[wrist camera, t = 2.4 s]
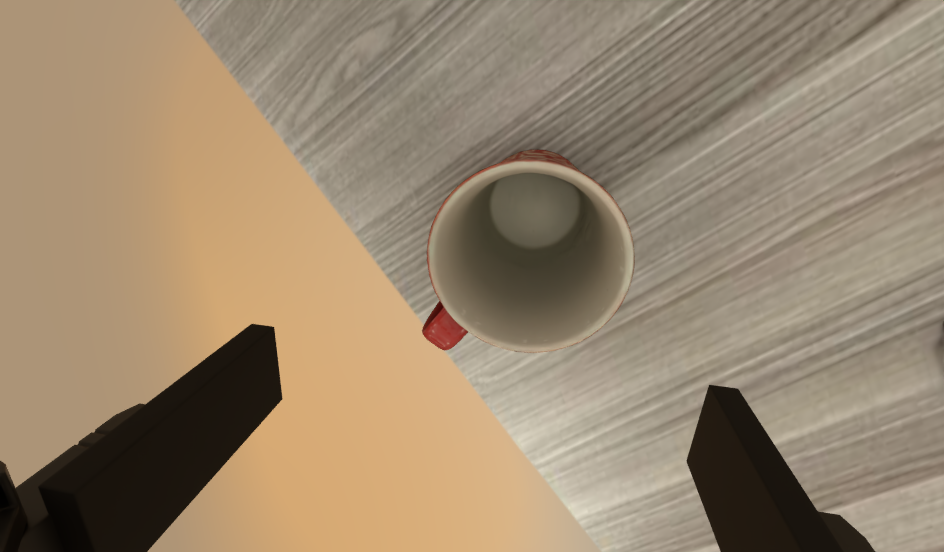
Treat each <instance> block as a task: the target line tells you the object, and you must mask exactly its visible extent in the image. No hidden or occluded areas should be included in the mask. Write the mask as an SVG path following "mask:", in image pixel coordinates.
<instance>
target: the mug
mask: <svg viewBox="0 0 944 552" xmlns="http://www.w3.org/2000/svg"><path fill="white" fill-rule="evenodd" d="M634 258H635V256H634V245H633V239H632V235H631V231H630V228H629V226H628V223H627V220H626V218H625V216H624V214H623V213H622V211H621V209H620V208H619V206H618V204H617V203H616V202H615V200H614V199H613V197H612V196H611V195H610V194H609V193H608V192H607V191H606V190H605V189H604V188H603V187H602V186H601V185H599V184H598V183H597V182H596V181H594V180H593V179H592V178H590V177H589V176H587V175H585V174H584V173H582V172H580V171H579V170H578V169H577V168H576V167H575V166H574V165H573V164H572V163H570V162H569V161H568V160H567V159H565V158H564V157H562V156H560V155H558V154H556V153H553V152H550V151H546V150H527V151H522V152H519V153H517V154H514V155H512V156H510V157H508V158H507V159H505V160H504V161H502V162H501V163H499V164H496V165H493V166H490V167H488V168H485V169H483V170H481V171H479V172H477V173H475V174H474V175H472V176H471V177H469V178H468V179H466V180H465V181H464V182H463V183H461V184H460V185H459V186H458V187H457V188H456V189H455V190H454V191H453V192H452V193H451V194H450V195H449V196H448V198H447V199H446V200H445V201H444V203H443V204H442V206H441V208H440V209H439V211H438V213H437V215H436V217H435V219H434V221H433V224H432V226H431V230H430V234H429V239H428V247H427V263H428V270H429V276H430V279H431V282H432V285H433V288H434V290H435V293H436V295H437V297H438V298H439V300H440V301H439V302H438V304H437V305H436V307H435V308H434V310H433V311H432V313H431V314H430V316H429V317H428V319H427V321H426V323H425V324H424V326H423V330H422V332H423V335H424V336H425V337H426V339H427V340H429V341H430V342H431V343H433V344H434V345H435V346H437V347H438V348H440V349H442V350H449V349H451V348H452V347H454V346H455V345H456V344H457V343H458V342H459V341H460V340H461V339H462V338H463V337H464V335H466V334H467V333H468V332H469V333H471V334H472V335H474V336H476V337H477V338H479V339H481V340H483V341H485V342H487V343H489V344H491V345H494V346H497V347H500V348H503V349H507V350H512V351H516V352H527V353H537V352H548V351H554V350H558V349H562V348H565V347H568V346H571V345H574V344H576V343H578V342H580V341H582V340H584V339H586V338H588V337H590V336H591V335H593V334H594V333H595V332H597V331H598V330H599V329H600V328H601V327H603V326H604V325H605V324H606V323H607V322H608V321H609V320H610V319H611V318H612V316H613V315H614V314H615V313H616V311H617V310H618V309H619V307H620V305H621V304H622V302H623V300H624V298H625V296H626V294H627V292H628V290H629V287H630V284H631V280H632V277H633V272H634Z"/></svg>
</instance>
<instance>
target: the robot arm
mask: <svg viewBox="0 0 944 552" xmlns="http://www.w3.org/2000/svg"><path fill="white" fill-rule="evenodd" d="M281 400H282V392H281V384H280V375H279V366H278V357H277V348H276V341H275V331H274V327H270V326H264V325H256V324H251V325H250V326H248V327H247V328H246V329H244V330H243V331H242V332H240V333H239V334H238V335H236V336H235V337H234V338H232V339H231V340H230V341H229V342H227V343H226V344H225V345H223V346H222V347H221V348H219V349H218V350H217V351H215V352H214V353H213V354H211V355H210V356H209V357H207V358H206V359H205V360H203V361H202V362H201V363H200V364H198V365H197V366H196V367H194V368H193V369H192V370H190V371H189V372H188V373H186V374H185V375H184V376H182V377H181V378H180V379H178V380H177V381H176V382H174V383H173V384H172V385H171V386H169V387H168V388H167V389H165V390H164V391H163V392H161V393H160V394H159V395H157V396H156V397H155V398H153V399H152V400H151V401H149V402H148V403H147V404H138V405H136V406H133V407H131V408H129V409H127V410H125V411H123V412H121V413H119V414H116V415H115V416H113V417H112V418H111V419H109V420H108V421H106V422H105V423H104V424H102V425H101V426H100V427H98V428H97V429H96V430H95V432H94V433H90V434H89V435H87V436H86V437H85V438H83V439H82V440H80V441H79V444H78V445H74V446H72V447H71V448H70V449H68V450H67V451H65V452H64V453H63V454H61V455H60V456H59V457H57V458H56V459H55V460H54V461H52V462H51V463H49V464H48V465H46V466H45V467H44V468H42V469H41V470H40V471H38V472H37V473H35V474H34V475H33V476H31V477H30V478H29V479H27V480H26V481H24V482H23V483H22V484H20V485H19V486H18V487H16V488H15V486H14V484H13V481H12V479H11V477H10V474H9V472H8V469H7V467H6V464H4V463H3V462H1V461H0V552H147V551H148V550H149V549H150V548H151V547H152V545H153V544H154V543H155V542H156V541H157V540H158V539H159V538H160V536H161V535H162V534H163V533H164V532H165V531H166V530H167V528H168V527H169V526H170V525H171V524H172V523H173V522H174V521H175V519H176V518H177V517H178V516H179V515H180V514H181V513H182V511H183V510H184V509H185V508H186V507H187V506H188V505H189V504H190V503H191V501H192V500H193V499H194V498H195V497H196V496H197V495H198V494H199V492H200V491H201V490H202V489H203V488H204V487H205V486H206V484H207V483H208V482H209V481H210V480H211V479H212V478H213V477H214V475H215V474H216V473H217V472H218V471H219V470H220V469H221V468H222V466H223V465H224V464H225V463H226V462H227V461H228V460H229V458H230V457H231V456H232V455H233V454H234V453H235V452H236V451H237V450H238V448H239V447H240V446H241V445H242V444H243V443H244V442H245V441H246V439H247V438H248V437H249V436H250V435H251V433H252V432H253V431H254V430H255V429H256V428H257V427H258V426H259V425H260V424H261V422H262V421H263V420H264V419H265V418H266V417H267V416H268V415H269V413H270V412H271V411H272V410H273V409H274V408H275V407H276V406H277V404H278V403H279V402H280V401H281ZM687 464H688V466H689V469H690V472H691V474H692V477H693V480H694V482H695V485H696V487H697V490H698V493H699V495H700V498H701V501H702V503H703V506H704V509H705V511H706V514H707V517H708V519H709V522H710V524H711V527H712V530H713V532H714V535H715V538H716V540H717V543H718V546H719V548H720V551H721V552H875V551H874V549H873V548H872V547H871V545H870V544H869V542H868V541H867V540H866V538H865V537H864V536H863V535H861V534H860V533H859V532H858V531H857V530H856V529H855V528H854V527H852V526H851V525H850V524H849V523H848V522H847V521H846V520H845V519H843V518H842V517H841V516H840V515H836V514H830V513H824V512H818V511H817V510H816V508H815V507H814V505H813V504H812V502H811V501H810V499H809V497H808V496H807V494H806V493H805V491H804V490H803V488H802V487H801V485H800V484H799V482H798V480H797V479H796V477H795V476H794V474H793V473H792V471H791V470H790V468H789V467H788V465H787V464H786V462H785V460H784V459H783V457H782V456H781V454H780V453H779V451H778V450H777V448H776V447H775V445H774V444H773V442H772V440H771V439H770V437H769V436H768V434H767V433H766V431H765V430H764V428H763V427H762V425H761V423H760V422H759V420H758V419H757V417H756V416H755V414H754V413H753V411H752V410H751V408H750V407H749V405H748V403H747V402H746V400H745V399H744V397H743V396H742V394H741V393H740V391H739V390H738V389H736V388H729V387H721V386H714V385H709V387H708V390H707V394H706V397H705V401H704V404H703V407H702V411H701V414H700V417H699V421H698V424H697V427H696V431H695V434H694V438H693V441H692V444H691V448H690V451H689V454H688V458H687Z"/></svg>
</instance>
